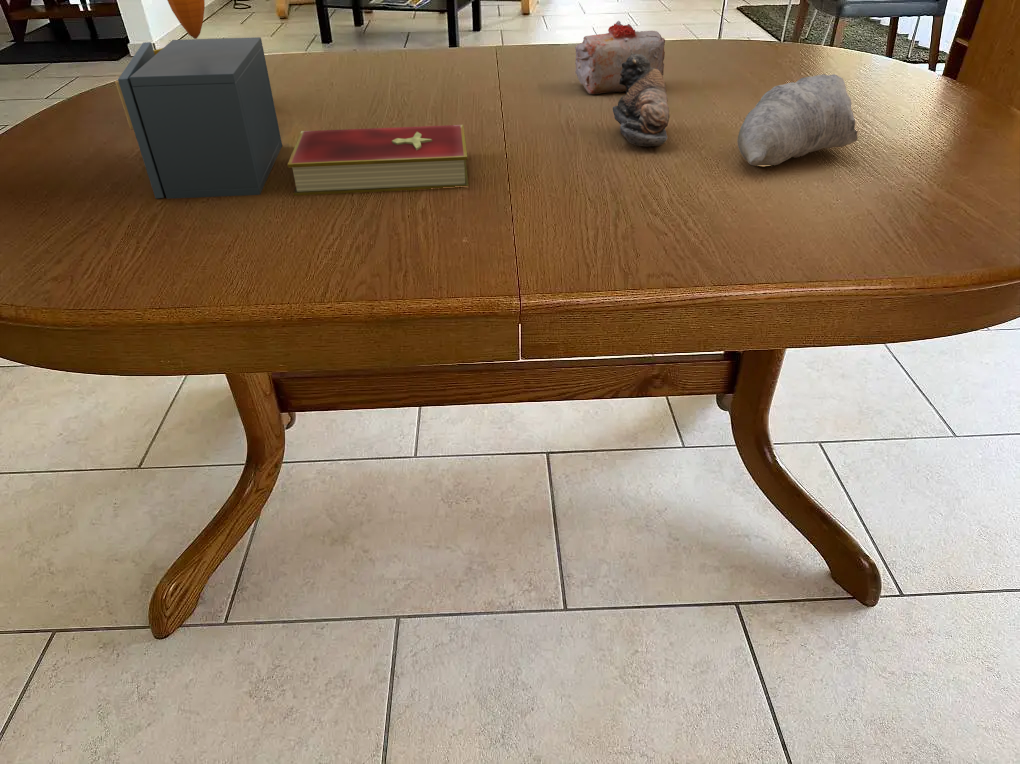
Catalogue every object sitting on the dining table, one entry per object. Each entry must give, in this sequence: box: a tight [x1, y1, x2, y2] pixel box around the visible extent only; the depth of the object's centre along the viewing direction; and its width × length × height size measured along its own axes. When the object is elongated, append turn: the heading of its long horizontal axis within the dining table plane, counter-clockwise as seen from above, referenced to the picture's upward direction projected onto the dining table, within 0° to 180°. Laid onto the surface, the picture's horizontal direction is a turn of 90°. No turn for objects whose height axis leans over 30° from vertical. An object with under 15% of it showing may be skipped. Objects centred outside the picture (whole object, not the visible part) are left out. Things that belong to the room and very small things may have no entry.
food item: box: [574, 20, 666, 95], centre depth 120 cm, size 14×8×10 cm, turn 101°
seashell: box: [737, 73, 859, 167], centre depth 94 cm, size 16×15×10 cm
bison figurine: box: [612, 52, 670, 148], centre depth 101 cm, size 12×7×10 cm, turn 9°
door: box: [114, 41, 166, 200], centre depth 90 cm, size 5×17×14 cm, turn 13°
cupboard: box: [130, 36, 283, 200], centre depth 91 cm, size 11×17×14 cm, turn 5°
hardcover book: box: [287, 124, 470, 196], centre depth 93 cm, size 12×21×4 cm, turn 95°
